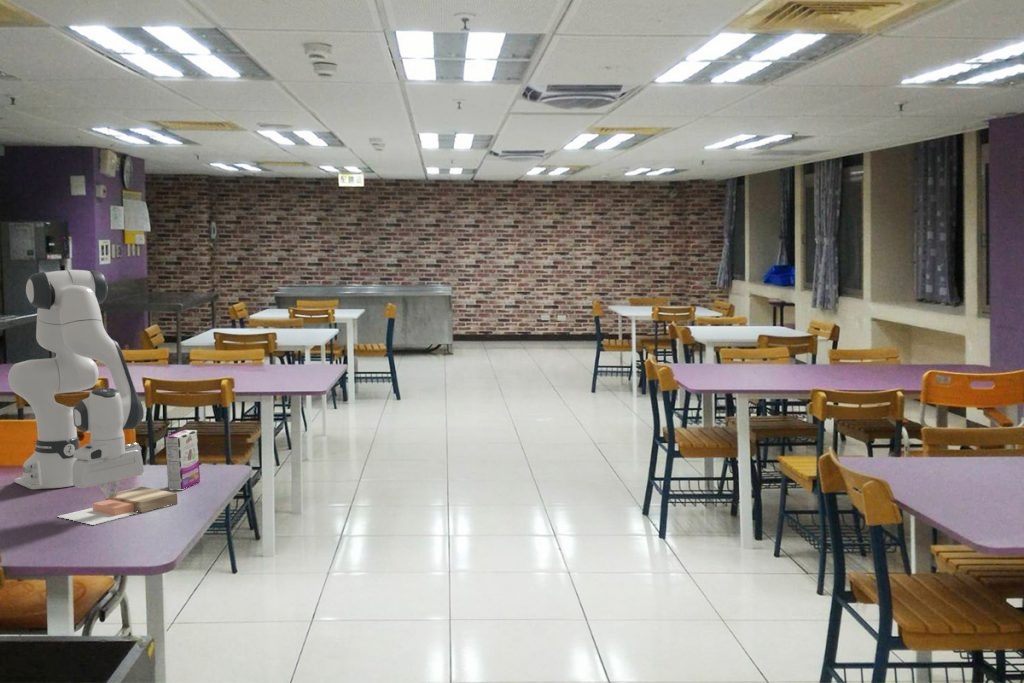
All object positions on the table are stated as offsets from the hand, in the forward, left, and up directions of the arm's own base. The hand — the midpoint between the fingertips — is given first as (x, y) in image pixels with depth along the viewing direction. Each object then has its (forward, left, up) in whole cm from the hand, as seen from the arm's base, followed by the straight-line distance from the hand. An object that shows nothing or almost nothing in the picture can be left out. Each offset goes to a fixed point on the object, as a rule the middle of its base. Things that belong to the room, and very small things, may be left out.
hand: (110, 497), depth 286 cm
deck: (0, +10, -4) cm, 11 cm away
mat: (0, -4, -4) cm, 6 cm away
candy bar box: (-8, +31, -4) cm, 32 cm away
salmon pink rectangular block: (0, +1, -4) cm, 4 cm away
